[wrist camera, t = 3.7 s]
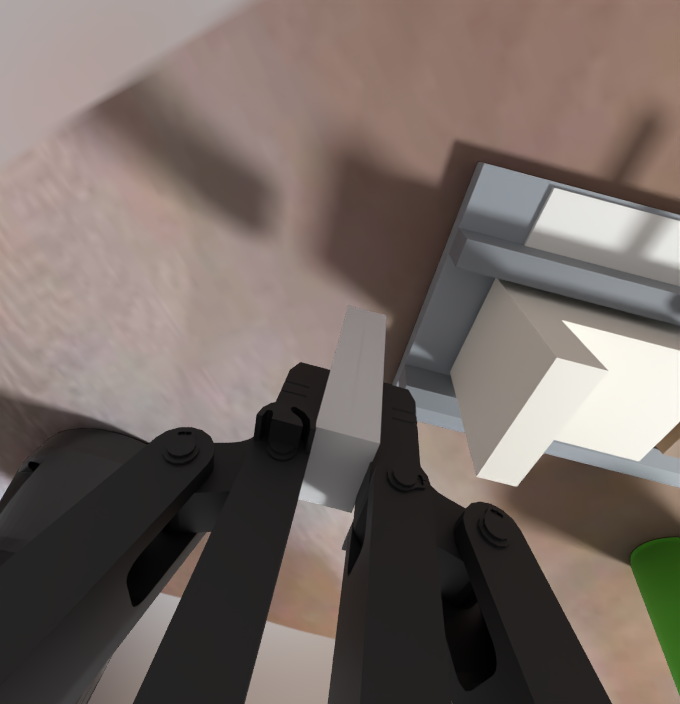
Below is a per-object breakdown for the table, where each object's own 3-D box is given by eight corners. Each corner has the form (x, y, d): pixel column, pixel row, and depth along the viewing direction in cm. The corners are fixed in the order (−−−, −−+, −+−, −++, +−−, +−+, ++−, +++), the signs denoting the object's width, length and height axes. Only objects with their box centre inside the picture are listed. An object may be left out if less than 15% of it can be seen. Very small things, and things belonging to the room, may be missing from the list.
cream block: (449, 372, 19) (476, 476, 13) (557, 150, 14) (687, 163, 8) (599, 410, 19) (691, 530, 14) (770, 207, 14) (1059, 263, 8)
